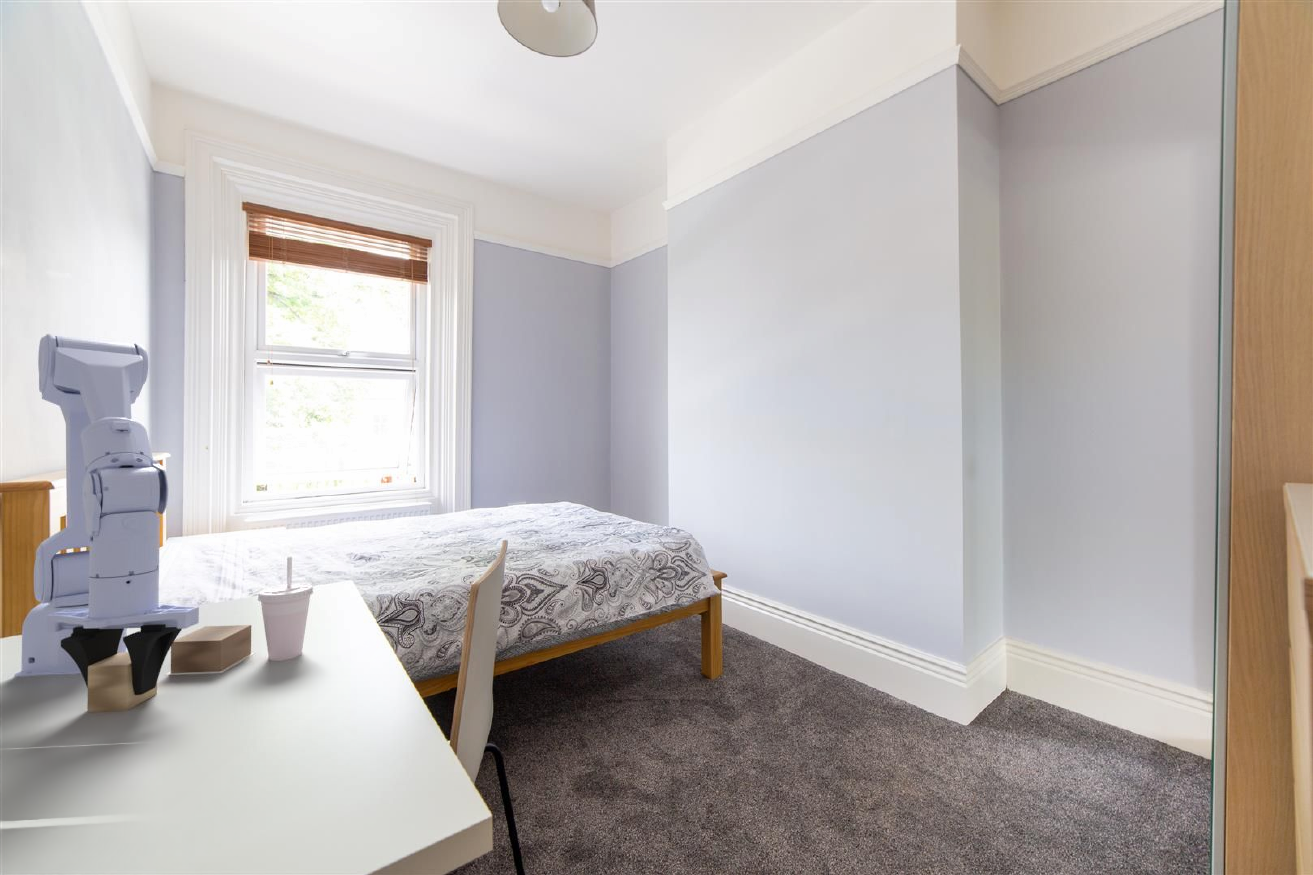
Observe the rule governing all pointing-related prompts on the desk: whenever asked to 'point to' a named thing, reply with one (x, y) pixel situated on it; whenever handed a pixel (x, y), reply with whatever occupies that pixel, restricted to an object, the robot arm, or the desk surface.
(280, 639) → the smoothie
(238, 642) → the walnut block
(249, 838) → the desk surface
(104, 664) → the oak block
